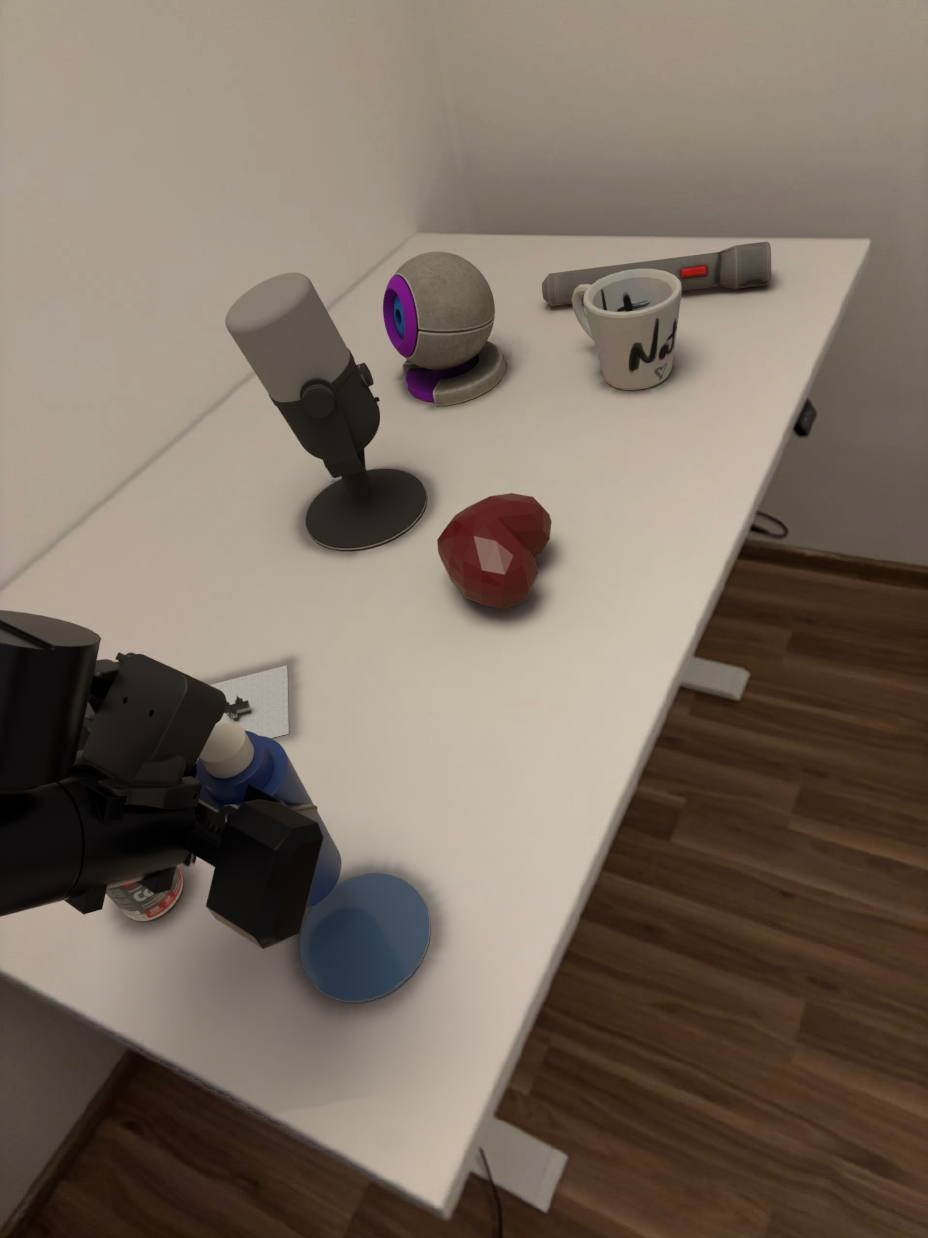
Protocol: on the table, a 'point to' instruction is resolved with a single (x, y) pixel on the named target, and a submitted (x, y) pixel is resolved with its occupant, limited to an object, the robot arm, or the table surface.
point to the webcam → (443, 328)
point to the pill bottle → (145, 899)
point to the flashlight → (677, 272)
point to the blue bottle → (261, 787)
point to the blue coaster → (365, 938)
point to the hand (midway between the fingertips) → (278, 795)
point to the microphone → (325, 411)
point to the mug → (632, 324)
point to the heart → (495, 548)
